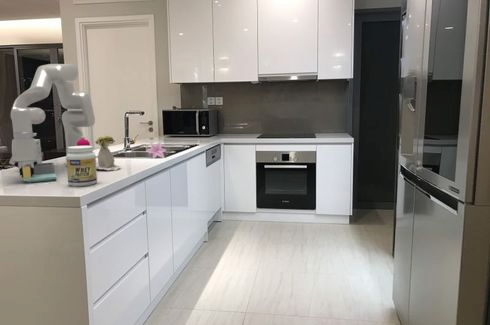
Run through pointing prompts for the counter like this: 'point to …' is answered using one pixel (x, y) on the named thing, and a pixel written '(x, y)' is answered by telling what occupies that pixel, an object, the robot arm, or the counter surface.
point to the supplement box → (38, 153)
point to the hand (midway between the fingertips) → (27, 176)
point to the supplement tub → (81, 166)
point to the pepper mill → (83, 142)
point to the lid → (36, 176)
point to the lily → (156, 150)
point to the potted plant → (105, 154)
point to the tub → (43, 168)
